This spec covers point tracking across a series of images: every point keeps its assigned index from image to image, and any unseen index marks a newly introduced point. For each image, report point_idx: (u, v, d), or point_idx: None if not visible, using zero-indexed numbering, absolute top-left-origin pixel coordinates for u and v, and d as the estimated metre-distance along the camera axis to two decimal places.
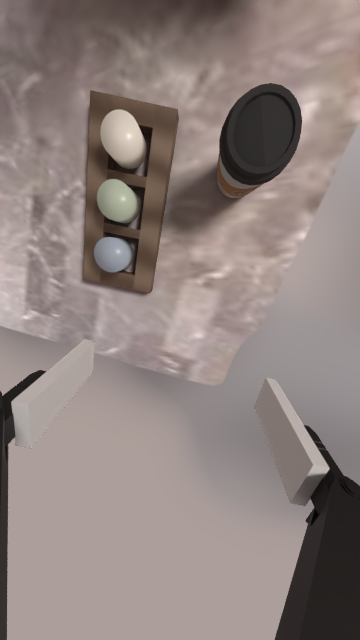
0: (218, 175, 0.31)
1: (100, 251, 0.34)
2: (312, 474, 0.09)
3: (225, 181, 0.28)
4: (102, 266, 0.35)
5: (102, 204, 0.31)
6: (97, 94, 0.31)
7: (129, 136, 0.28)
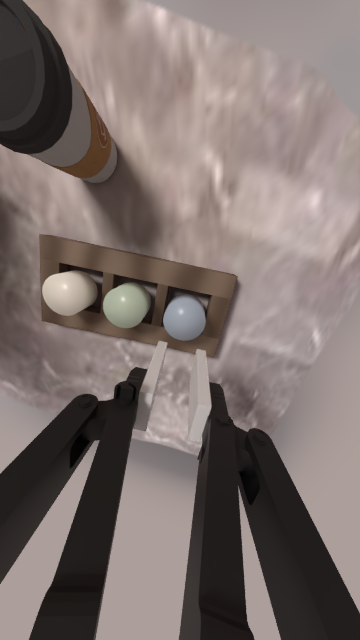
0: (87, 173, 0.24)
1: (179, 332, 0.28)
2: (199, 412, 0.12)
3: (86, 154, 0.20)
4: (198, 332, 0.27)
5: (128, 322, 0.28)
6: (43, 315, 0.33)
7: (62, 285, 0.26)
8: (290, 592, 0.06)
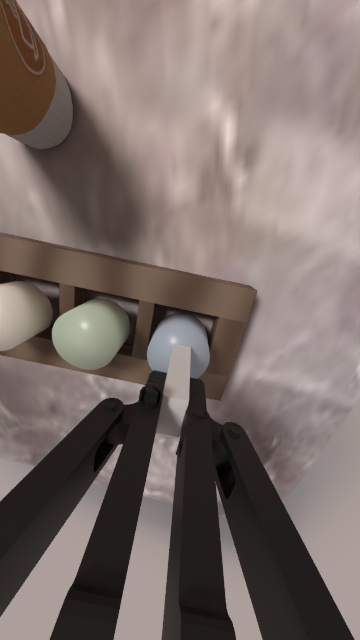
0: (13, 123, 0.14)
1: None
2: (177, 407, 0.12)
3: None
4: (198, 372, 0.19)
5: (93, 362, 0.18)
6: None
7: None
8: (266, 582, 0.06)
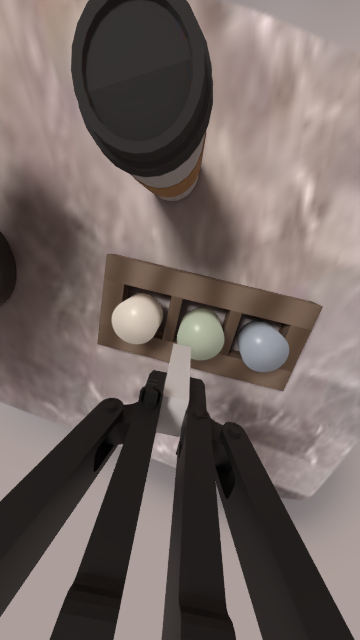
0: (175, 193, 0.21)
1: (257, 363, 0.26)
2: (177, 407, 0.12)
3: (189, 174, 0.18)
4: (278, 364, 0.25)
5: (203, 354, 0.25)
6: (100, 338, 0.30)
7: (135, 312, 0.24)
8: (266, 582, 0.06)
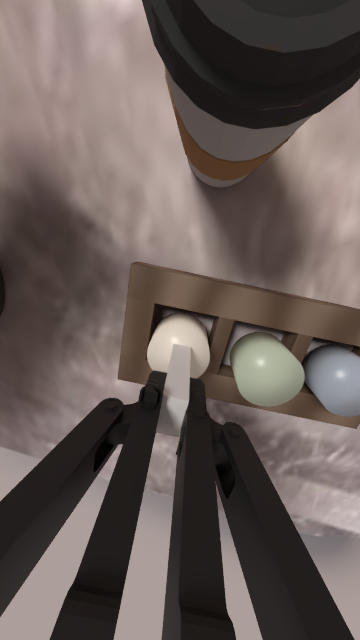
0: (244, 173, 0.14)
1: (342, 405, 0.19)
2: (177, 407, 0.12)
3: (288, 137, 0.11)
4: None
5: (273, 399, 0.18)
6: (121, 372, 0.23)
7: (179, 343, 0.18)
8: (266, 582, 0.06)
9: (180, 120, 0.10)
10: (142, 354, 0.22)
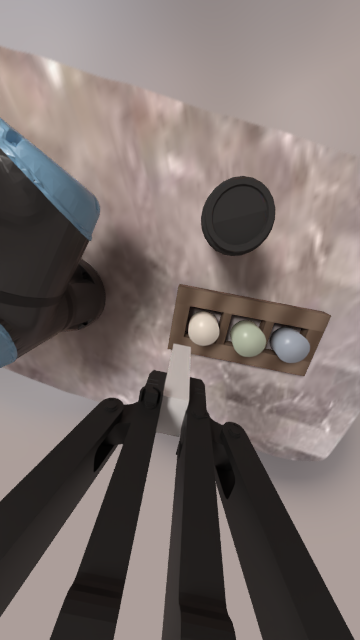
0: None
1: (288, 356, 0.37)
2: (177, 407, 0.12)
3: None
4: (302, 357, 0.37)
5: (251, 353, 0.36)
6: (169, 344, 0.42)
7: (204, 324, 0.37)
8: (266, 582, 0.06)
9: None
10: (182, 333, 0.41)
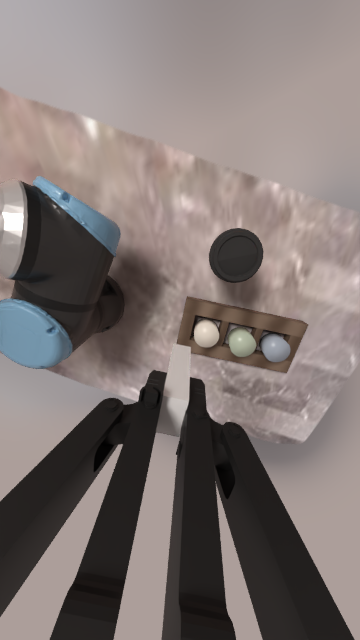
0: None
1: (273, 357, 0.47)
2: (177, 407, 0.12)
3: None
4: (284, 357, 0.46)
5: (244, 353, 0.46)
6: None
7: (207, 330, 0.45)
8: (266, 582, 0.06)
9: None
10: (188, 337, 0.50)
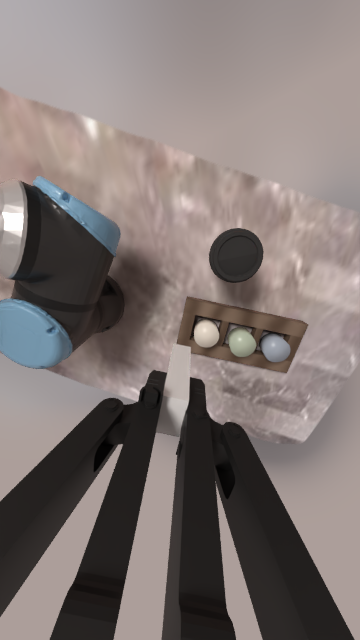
0: None
1: (273, 357, 0.47)
2: (177, 407, 0.12)
3: None
4: (284, 357, 0.46)
5: (244, 353, 0.46)
6: None
7: (207, 330, 0.45)
8: (266, 582, 0.06)
9: None
10: (188, 337, 0.50)
